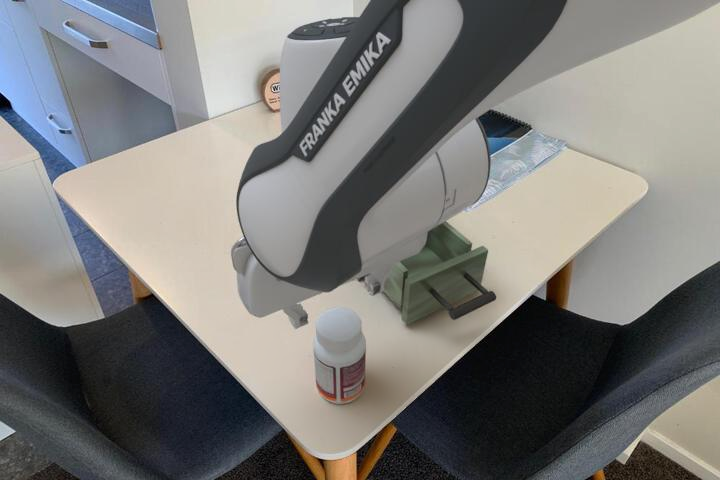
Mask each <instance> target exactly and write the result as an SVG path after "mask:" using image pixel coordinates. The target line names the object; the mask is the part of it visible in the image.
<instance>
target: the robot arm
mask: <svg viewBox="0 0 720 480" xmlns="http://www.w3.org/2000/svg"><path fill="white" fill-rule="evenodd" d="M719 4H720V0H369V1H368V4H367V5H366V6H365V8H364V10H362V12H361V13H360V15H359V16H342V17H339V18H327V19H322V20H317V21H313V22H310V23H305V24H303V25H299V27H296V28H295V29H294V30H293V31H291V32H289V34H287V36H286V37H285V39H284V41H283V45H282V49H281V56H280V64H279V65H280V66H279V113H280V114H279V115H280V128H281V133H280V135H278V136H277V137H276V138H274V139H272V140H269V141H266V142H265V141H264V142H263V143H260V144H258V145H256V146H255V147H254V148H253V149H252V151H251V153H250V155H249V157H248V159H247V161H246V163H245V166H244V168H243V170H242V173H241V176H240V179H239V183H238V187H237V191H236V198H235V199H236V201H235V202H236V203H235V205H236V214H237V215H236V216H237V221H238V223H239V227H240V231H241V233H242V237H240V238H238V240H236V241H235V243H234V244H233V245H232V246H231V248H230V257H231V262H232V267H233V270H234V271H236V287H237V293H238V296H239V298H240V299H239V300H240V301H241V303H242V304H243V306H244V308H245V309H246V311H247V312H248V314H250V315H251V316H254V317H256V318H258V319H261V318H265V317H268V316H269V315H272V314H275V313H277V312H279V311H283V313H284V314H285V315H287V317H288V321H289V323H290V324H291V326H292V327H293V329H294V330H298V329H300V328H301V327H305V326H306V325H308V324H309V320H308V319H309V315H308V313H307V310H305V309H304V306H303V305H302V304H301V303H302V302H304V301H306V300H309V299H311V298H314V297H316V296H319V295H321V294H324V293H331V292H333V291H335V290H336V289H337V288H339V287H340V286H342V285H343V286H344V285H345V284H348V283H350V282H352V281H355V280H357V279H358V278H360V277H363V276H365V275H367V274H370V273H371V274H370V275H368V276H365V279H364V288H365V290H366V291H367V292H368V293H369V295H370V296H371V297H374V296H376V295H378V294H381V293H384V292H383V291H384V282H385V281H386V280H387V278H388V277H389V275H390V274H391V272H392V270H393V269H394V266H395V263H397V262H399V261H402V260H404V259H406V258H409V257H411V256H414V255H416V254H418V253H419V252H420V251H421V250H422V248H423V247H424V246H425V244H426V240H427V233H428V231H429V230H431V229H433V228H435V227H436V226H438V225H440V224H442V223H443V222H445V221H446V222H447V221H448V220H450V219H452V218H454V217H455V216H457V215H459V214H461V213H462V212H463V211H465V210H467V209H468V208H470V207H472V206H473V205H475V204H476V203H478V201H479V200H481V198H482V196H483V195H484V193H485V192H486V189H487V186H488V183H489V179H490V174H491V166H492V165H491V164H492V163H491V161H492V160H491V159H492V158H491V157H492V156H491V148H490V143H489V140H488V136H487V133H486V131H485V128H484V125H483V124H482V122H481V120H480V119H479V117H481V116H482V115H484V114H486V113H487V112H489V111H491V110H492V109H494V108H495V107H497V106H499V105H500V104H502V103H504V102H505V101H508V100H509V99H511V98H514V97H515V96H517V95H519V94H521V93H522V92H525V91H527V90H528V89H531V88H533V87H535V86H537V85H539V84H542V83H543V82H545V81H548V80H550V79H552V78H554V77H557V76H559V75H561V74H563V73H565V72H566V73H567V71H570V70H572V69H575V68H577V67H579V66H582V65H584V64H586V63H589V62H592V61H594V60H596V59H598V58H601V57H603V56H605V55H608V54H611V53H613V52H616V51H618V50H621V49H623V48H626V47H628V46H631V45H634V44H635V43H638V42H640V41H643V40H644V39H645V40H646V39H647V38H649V37H653V36H654V35H656V34H659V33H661V32H665V31H666V30H669V29H671V28H673V27H675V26H678V25H680V24H682V23H684V22H686V21H688V20H691V19H692V18H694V17H696V16H698V15H699V14H702V13H703V12H706V11H707V10H709V9H710V8H712V7H715V6H716V5H719Z"/></svg>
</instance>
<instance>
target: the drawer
mask: <svg viewBox="0 0 720 480" xmlns="http://www.w3.org/2000/svg"><path fill="white" fill-rule="evenodd" d="M472 248H473V242H472V241H471V240H469V239H468V238H467V237H466V236H465V235H463V233H461V232H459V231H458V230H457V228H455V227H453V225H451V224H450V223H449V222H447V221H445V222H443V223H442V224H440V225H438V226H436V227H435V228H433V229H431V230H429V231H428V233H427V240H426V244H425V246H424V247H423V248H422V250H421V251H420V252H419V253H418V254H416V255H414V256H411V257H409V258H406V259H404V260H402V261H399V262H397V263H395V266H394V269H393V270H392V272H391V274H390V275H389V277H388V278H387V280H386V281H385V282H384V291H383V292H382V293H384V294H385V295H386V296H387V297H388V298H389V299H390V301H392V303H393V304H394V305H395V306H396V307H397V309H399V310H400V311H402V312H401V321H402V322H403V323H404V324H405V325H406V326H407V325H410V324H412V323H414V322H415V321H418V320H420V319H422V318H425V317H426V316H429V315H430V314H433V313H435V312H437V311H439V310H442V309H443V308H444V309H445V310H446V311H447V312H448V315H449V317H450V319H451V320H453V321H456V320H458V319H461V318H462V317H464V316H466V315H468V314H470V313H472V312H474V311H477V310H478V309H481V308H483V307H484V306H486V305H488V304H491V303H493V302H495V301H496V300H497V294H496V293H495V292H494V290H489V291H488V289H487V288H485V287H484V286H483V285H482V283H483V277H484V273H485V269H486V264H487V259H488V254H489V249H488V248H487V247H486V246H484V245H481V246H478V247H476V248H474V249H472ZM370 274H371V273H370ZM370 274H368V275H370ZM477 292H479V293H481V294H480V295H478V296H476V297H474V298H472V299H469V300H468V301H465V302H464V303H461V304H459V305H457V306H455V307H453V306H452V304H454V303H456V302H458V301H461V300H462V299H465V298H466V297H469V296H471V295H473V294H474V293H475V294H476V293H477Z"/></svg>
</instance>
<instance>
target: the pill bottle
mask: <svg viewBox="0 0 720 480" xmlns="http://www.w3.org/2000/svg"><path fill="white" fill-rule="evenodd" d="M362 325H363V323H362V320H361V317H360V316H359V314H358V313H357V312H356V311H354V310H352V309H351V308H346V307H340V306H339V307H338V306H337V307H332V308H329V309H326V310H325V311H323V312H322V313H320V315H319V316H318V317H317V319H316V323H315V335H314V337H313V343H312V349H313V359H314V361H313V362H314V372H315V373H314V375H315V386H316V390H317V392H318V393H319V395H320V396H321V397H322V398H323V400H326V401H328V402H330V403H333V404H340V405H341V404H348V403H351V402H353V401H354V400H356V399H357V398H358V397H359V396H361V394H362V393H363V391H364V389H365V386H366V361H367V360H366V355H367V353H366V352H367V341H366V337H365V334H364V333H363V329H362V328H363V327H362Z"/></svg>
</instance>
